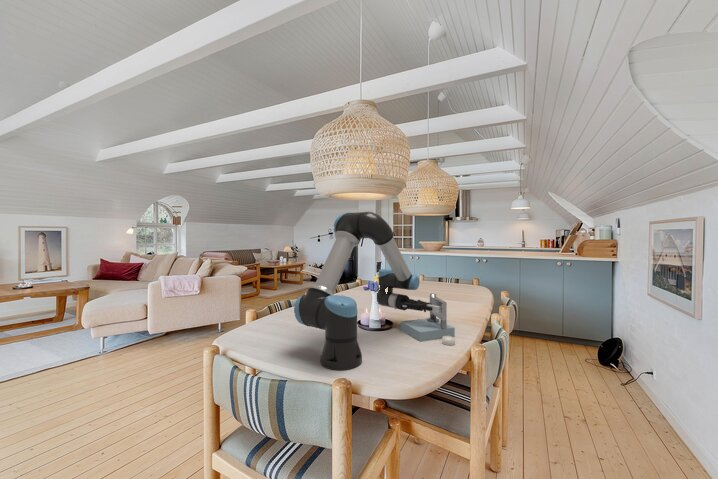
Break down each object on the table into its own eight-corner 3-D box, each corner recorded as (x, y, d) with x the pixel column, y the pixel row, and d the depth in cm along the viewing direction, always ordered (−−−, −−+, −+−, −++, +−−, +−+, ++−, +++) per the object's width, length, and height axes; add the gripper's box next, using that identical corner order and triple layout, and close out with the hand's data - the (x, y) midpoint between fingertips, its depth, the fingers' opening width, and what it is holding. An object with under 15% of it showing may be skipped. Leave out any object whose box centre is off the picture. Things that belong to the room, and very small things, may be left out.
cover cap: (445, 334, 134) (445, 340, 134) (440, 337, 130) (440, 343, 131) (456, 337, 131) (456, 343, 131) (452, 340, 127) (451, 346, 127)
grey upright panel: (441, 328, 137) (441, 300, 137) (428, 318, 153) (428, 293, 153) (447, 328, 138) (447, 300, 137) (434, 318, 154) (434, 293, 153)
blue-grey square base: (455, 336, 140) (455, 326, 140) (420, 341, 134) (420, 330, 134) (432, 325, 157) (432, 316, 157) (400, 329, 150) (400, 320, 150)
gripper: (407, 307, 160) (447, 315, 143) (390, 311, 152) (431, 321, 134) (407, 292, 160) (447, 299, 143) (390, 295, 152) (430, 303, 134)
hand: (439, 309), depth 138 cm, fingers closed
